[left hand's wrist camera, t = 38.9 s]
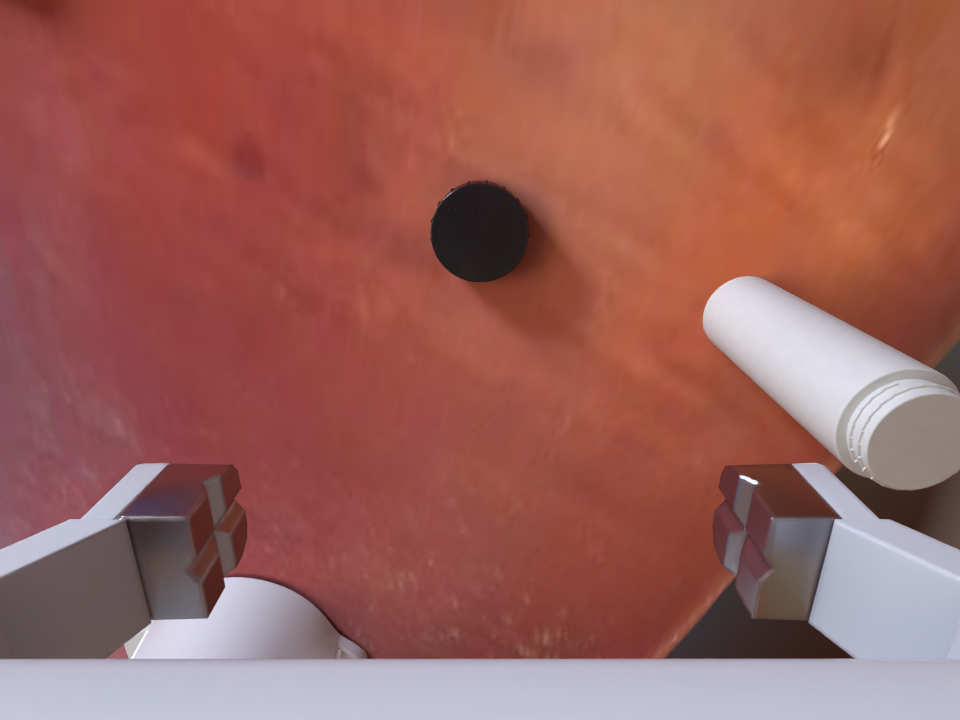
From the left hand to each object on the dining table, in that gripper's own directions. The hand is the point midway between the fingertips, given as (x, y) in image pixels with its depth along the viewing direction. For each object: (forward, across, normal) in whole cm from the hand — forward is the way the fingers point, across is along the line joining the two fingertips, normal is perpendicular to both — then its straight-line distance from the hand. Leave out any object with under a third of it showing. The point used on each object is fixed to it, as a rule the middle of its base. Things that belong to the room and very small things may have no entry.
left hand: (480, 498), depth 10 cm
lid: (+27, 0, 0) cm, 27 cm away
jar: (+28, +17, -5) cm, 33 cm away
